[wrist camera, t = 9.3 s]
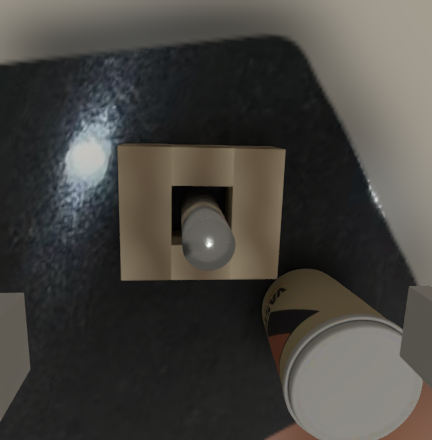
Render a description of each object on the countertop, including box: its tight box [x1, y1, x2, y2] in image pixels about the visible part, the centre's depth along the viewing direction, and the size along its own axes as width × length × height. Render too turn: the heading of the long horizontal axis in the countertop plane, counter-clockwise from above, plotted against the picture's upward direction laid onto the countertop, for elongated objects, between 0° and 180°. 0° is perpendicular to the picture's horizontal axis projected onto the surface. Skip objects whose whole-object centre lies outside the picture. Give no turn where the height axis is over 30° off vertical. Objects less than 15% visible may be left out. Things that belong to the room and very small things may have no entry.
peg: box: [181, 188, 235, 271], centre depth 29 cm, size 3×3×12 cm
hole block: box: [118, 143, 285, 280], centre depth 32 cm, size 12×10×4 cm
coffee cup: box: [262, 269, 423, 440], centre depth 32 cm, size 9×9×12 cm
